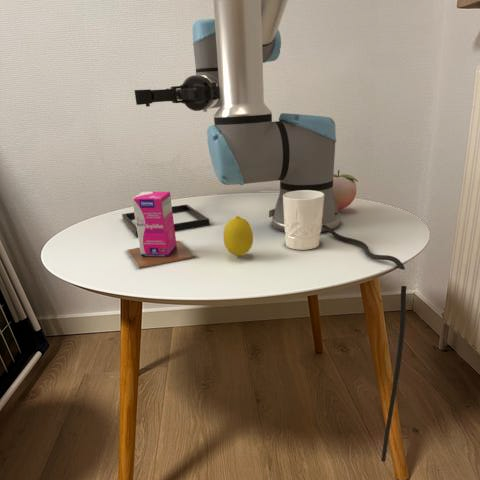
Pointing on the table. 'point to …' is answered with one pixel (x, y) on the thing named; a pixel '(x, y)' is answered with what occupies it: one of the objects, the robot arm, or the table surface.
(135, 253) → the mat
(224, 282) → the table surface
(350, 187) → the decorative fruit
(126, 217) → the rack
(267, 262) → the table surface
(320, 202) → the white cup
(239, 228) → the lemon
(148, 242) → the supplement box
